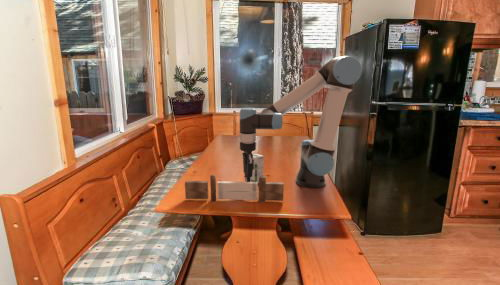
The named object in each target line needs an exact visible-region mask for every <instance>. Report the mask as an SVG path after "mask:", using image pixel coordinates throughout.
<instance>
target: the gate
mask: <svg viewBox="0 0 500 285" xmlns="http://www.w3.org/2000/svg"><path fill="white" fill-rule="evenodd" d="M216 196H217V200H239V201H244V200H245V201H259V183H258V182H245V181H225V180H223V181H222V180H220V181H219V180H217V181H216Z"/></svg>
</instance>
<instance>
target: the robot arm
mask: <svg viewBox="0 0 500 285" xmlns="http://www.w3.org/2000/svg"><path fill="white" fill-rule="evenodd" d="M362 72H363V70H362V64H361V63H360V61H359V60H358V59H357V58H356V57H354V56H351V55H342V56H336V57H334V58H332V59H330V60H329V61H327V62H326V63H325V64H324V65H322V66H321V67H320V68H318V69H317V70H316V71H315V74H313V75H311V77H309V78H308V79H307V80H305V81H303V82H302V83H301V84H300V85H298V86H297V87H295V88H294V89H293V90H290V92H288V93H287V94H284V96H282V97H281V98H280V99H277V101H275V102H274V103H272V104H270V106H268V107H265V108H264V109H262V110H261V112H257V109H256V108H255V107H243V108H241V109H240V110H239V135H238V137H239V150H240V151H242V153H241V154H242V166H243V174H244V176H243V177H244V182H251V177H252V172H253V162H254V159H252V158H253V154H254V153H252V152H254V151H256V149H257V142H256V141H257V130H274V131H275V130H281V129H282V128H283V122H284V120H283V119H284V118H283V116H284V115H286V114H287V113H289V112H290V111H292V110H293V109H295V108H296V107H298V106H299V105H300V104H301V103H303V102H305V101H306V100H308V99H309V98H310V97H312V96H314V95H315V94H317V93H318V92H320V91H321V90H322V89H324V88H326V89H327V88H328V90H327V93H326V97H325V100H324V104H323V108H322V112H321V115H320V119H319V123H318V127H317V130H316V133H315V137H314V139H303V140H302V141H301V145H300V164H299V166H300V167H299V170H298V172H297V175H296V179H295V181H296V183H297V185H299V186H302V187H305V188H311V189H312V188H313V189H319V188H322V187H324V186H326V177H325V176H326V175H327V174H329V173H330V172H332V171H333V169H334V167H335V160H334V154H335V150H336V148H335V146H334V142H335V139H336V135H337V132H338V129H339V125H340V121H341V119H342V116H343V111H344V108H345V104H346V101H347V98H348V95H349V93H350V92H352V91H353V90H354V87H355V83H356V82H358V80H359V79H360V77H361V75H362Z"/></svg>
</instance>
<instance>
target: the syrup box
mask: <svg viewBox="0 0 500 285" xmlns="http://www.w3.org/2000/svg"><path fill="white" fill-rule="evenodd" d="M252 154H253V158H252V159H254V162H253V172H252V177H251V182H258V184H259V175H264V155H262V154H258V153H252Z"/></svg>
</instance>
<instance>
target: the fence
mask: <svg viewBox="0 0 500 285" xmlns="http://www.w3.org/2000/svg"><path fill="white" fill-rule="evenodd" d="M209 177H210V201H211V202H212V203H213V202H216V201H217V180H216V178H217V175H216V174H210V176H209ZM284 186H285V183H284V182H280V181H279V182H275V181H272V182H269V181H267V176H266V175H265V174H263V175H259V183H258V203H259V204H265V203H266V201H271V202H272V201H273V202H282V201H284V193H285V192H284V189H285V188H284ZM184 190H185V191H184V192H185V194H184V195H185V199H186V200H208V199H209V181H208V180H185V182H184Z"/></svg>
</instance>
